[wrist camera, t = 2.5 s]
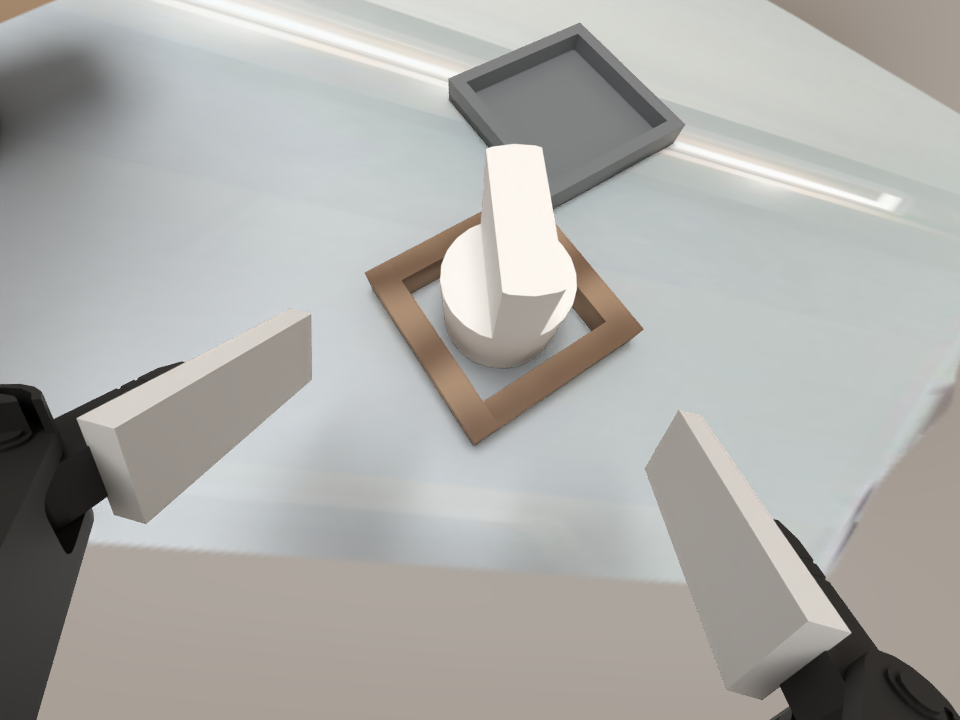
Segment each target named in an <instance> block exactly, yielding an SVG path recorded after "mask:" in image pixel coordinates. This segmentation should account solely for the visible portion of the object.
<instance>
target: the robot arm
mask: <svg viewBox="0 0 960 720" xmlns="http://www.w3.org/2000/svg"><path fill="white" fill-rule="evenodd" d="M311 380H312V348H311V314H310V313H306V312H302V311H298V310H294V309H289V310H287V311H285V312H283V313H281V314H279V315H277V316H275V317H273V318H271V319H269V320H267V321H265V322H263V323H261V324H259V325H257V326H255V327H253V328H252V329H250V330H248V331H246V332H244V333H242V334H240V335H238V336H236V337H234V338H232V339H230V340H228V341H226V342H224V343H222V344H220V345H218V346H216V347H214V348H212V349H211V350H209V351H207V352H205V353H203V354H201V355H199V356H197V357H195V358H193V359H191V360H189V361H187V362H179V363H175V364H171V365H168V366H164V367H160V368H157V369H155V370H153V371H151V372H149V373H147V374H145V375H143V376H141V377H139V378H138V379H137V380H136V381H135V380H133V381H131V382H129V383H127V384H125V385H122V386H121V388H120V389H114V390H112V391H110V392H108V393H106V394H104V395H102V396H100V397H98V398H96V399H94V400H92V401H90V402H88V403H86V404H84V405H82V406H80V407H78V408H76V409H74V410H72V411H69V412H67V413H65V414H63V415H61V416H59V417H57V418H55V419H53V417H52V415H51V412H50V410H49V408H48V405H47V403H46V401H45V398H44V396H43V394H42V392H41V391H40V390H38V389H37V388H36V387H33V386H28V385H22V384H0V720H36V719H37V716H38V712H39V709H40V705H41V702H42V698H43V695H44V691H45V688H46V684H47V681H48V677H49V674H50V670H51V667H52V664H53V660H54V656H55V653H56V650H57V646H58V643H59V639H60V636H61V632H62V629H63V625H64V622H65V618H66V615H67V612H68V608H69V604H70V601H71V597H72V594H73V590H74V587H75V584H76V580H77V577H78V573H79V570H80V566H81V563H82V560H83V556H84V553H85V549H86V546H87V542H88V539H89V535H90V532H91V528H92V525H93V521H94V515H93V510H92V507H94V506H95V505H96V504H98V503H99V502H100V501H102V500H103V499H104V498H106V497H107V498H108V500H109V503H110V505H111V508H112V511H113V513H114V515H116V516H120V517H123V518H127V519H130V520H134V521H137V522H141V523H144V524H147V523H148V522H149V521H150V520H151V519H152V518H154V517H155V516H156V515H157V514H158V513H159V512H160V511H162V510H163V509H164V508H165V507H166V506H167V505H168V504H170V503H171V502H172V501H173V500H174V499H175V498H176V497H178V496H179V495H180V494H181V493H182V492H183V491H184V490H186V489H187V488H188V487H189V486H190V485H191V484H193V483H194V482H195V481H196V480H197V479H198V478H199V477H201V476H202V475H203V474H204V473H205V472H206V471H207V470H209V469H210V468H211V467H212V466H213V465H214V464H215V463H217V462H218V461H219V460H220V459H221V458H222V457H223V456H225V455H226V454H227V453H228V452H229V451H230V450H231V449H233V448H234V447H235V446H236V445H237V444H238V443H240V442H241V441H242V440H243V439H244V438H245V437H246V436H248V435H249V434H250V433H251V432H252V431H253V430H254V429H256V428H257V427H258V426H259V425H260V424H261V423H262V422H264V421H265V420H266V419H267V418H268V417H269V416H270V415H272V414H273V413H274V412H275V411H276V410H277V409H279V408H280V407H281V406H282V405H283V404H284V403H285V402H287V401H288V400H289V399H290V398H291V397H292V396H293V395H295V394H296V393H297V392H298V391H299V390H300V389H301V388H303V387H304V386H305V385H306V384H307V383H308V382H309V381H311ZM645 470H646V473H647V476H648V478H649V481H650V484H651V487H652V489H653V492H654V495H655V497H656V500H657V503H658V506H659V508H660V511H661V514H662V516H663V519H664V522H665V525H666V527H667V530H668V533H669V535H670V538H671V541H672V544H673V546H674V549H675V552H676V555H677V557H678V560H679V563H680V565H681V568H682V571H683V574H684V576H685V579H686V582H687V584H688V587H689V590H690V592H691V595H692V598H693V600H694V603H695V606H696V609H697V612H698V614H699V617H700V620H701V622H702V625H703V628H704V630H705V633H706V636H707V638H708V641H709V644H710V647H711V649H712V652H713V655H714V658H715V660H716V663H717V666H718V669H719V671H720V674H721V677H722V679H723V682H724V685H725V688H726V690H729V691H732V692H736V693H740V694H743V695H747V696H750V697H753V698H757V699H761V700H763V699H764V698H766V697H767V696H768V695H769V694H771V693H772V692H773V691H775V690H776V689H777V688H779V687H781V689H782V692H783V693H784V696H785V698H786V700H787V702H788V704H789V707H788V708H786V709H785V710H783V711H782V712H780V713H779V714H777V715H776V716H774V717H773V718H772V719H770V720H960V717H959V715H958V714H957V713H956V711H955V710H954V708H953V707H952V705H951V704H950V703H949V701H948V700H947V699H946V698H945V697H944V696H943V695H942V694H941V693H940V692H939V691H938V690H937V689H936V688H935V687H934V686H933V685H932V684H931V683H930V682H929V681H928V680H927V679H925V678H924V677H923V676H922V675H921V674H919V673H918V672H917V671H916V670H914V669H913V668H912V667H910V666H909V665H907V664H906V663H904V662H902V661H901V660H899V659H898V658H896V657H894V656H892V655H890V654H887V653H884V652H882V651H879V650H878V649H877V647H876V646H875V644H874V643H873V642H872V640H871V639H870V638H869V636H868V635H867V634H866V632H865V631H864V629H863V628H862V627H861V625H860V624H859V622H858V621H857V620H856V618H855V617H854V616H853V614H852V613H851V612H850V610H849V609H848V607H847V606H846V604H845V603H844V602H843V600H842V599H841V598H840V597H839V595H838V593H837V592H836V591H835V589H834V588H833V586H832V585H831V584H830V582H828V581H826V580H825V578H826V577H825V575H824V574H823V573H822V571H821V570H820V569H819V567H818V566H817V564H814V563H813V559H812V557H811V556H810V555H809V553H808V552H807V551H806V549H805V548H804V546H803V545H802V544H801V542H800V541H799V540H798V539H797V538H796V537H795V536H794V535H793V534H792V533H791V532H790V531H789V530H788V529H787V528H786V527H785V526H784V525H783V524H782V523H781V522H780V521H778V520H775V519H772V517H771V516H770V514H769V513H768V511H767V510H766V509H765V507H764V506H763V504H762V503H761V501H760V500H759V498H758V497H757V496H756V494H755V493H754V491H753V490H752V488H751V487H750V485H749V484H748V483H747V481H746V480H745V478H744V477H743V475H742V474H741V472H740V471H739V470H738V468H737V467H736V465H735V464H734V462H733V461H732V459H731V458H730V457H729V455H728V454H727V452H726V451H725V449H724V448H723V446H722V445H721V443H720V442H719V441H718V439H717V438H716V436H715V435H714V433H713V432H712V430H711V429H710V428H709V426H708V425H707V423H706V422H705V420H704V419H703V417H702V416H701V415H697V414H693V413H689V412H686V411H682V410H678V412H677V414H676V416H675V417H674V419H673V421H672V423H671V424H670V426H669V428H668V429H667V431H666V433H665V435H664V436H663V438H662V440H661V441H660V443H659V445H658V447H657V448H656V450H655V452H654V454H653V455H652V457H651V459H650V460H649V462H648V464H647V466H646V467H645Z"/></svg>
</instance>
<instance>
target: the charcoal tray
mask: <svg viewBox="0 0 960 720" xmlns="http://www.w3.org/2000/svg"><path fill="white" fill-rule="evenodd" d="M449 100H450V101H451V102H452V103H453V105H454V106H455V107H456V108H457V109H458V111H459V112H460V113H461V114H462V115H463V117H464V118H465V119H466V120H467V121H468V123H469V124H470V125H471V126H472V127H473V129H474V130H475V131H476V132H477V133H478V135H479V136H480V137H481V138H482V139H483V141H484V142H485V143H486V144H487V145H488V147H489V148H490V147H494V146H501V145H509V144H522V145H536V146H539V147H542V150H543V156H544V161H545V167H546V173H547V179H548V184H549V190H550V196H551V202H552V208H553V209H554V208H556V207H558V206H559V205H561V204H563V203H565V202H567V201H569V200H570V199H572V198H574V197H576V196H578V195H580V194H581V193H583V192H585V191H587V190H589V189H590V188H592V187H594V186H596V185H598V184H600V183H601V182H603V181H605V180H607V179H609V178H611V177H612V176H614V175H616V174H618V173H620V172H621V171H623V170H625V169H627V168H629V167H631V166H632V165H634V164H636V163H638V162H640V161H641V160H643V159H645V158H647V157H649V156H651V155H652V154H654V153H656V152H658V151H660V150H662V149H663V148H665V147H667V146H669V145H671V144H672V143H674V141H675V140H676V138H677V136H678V135H679V133H680V132H681V130H682V129H683V127H684V126H685V124H684V123H683V122H682V121H681V120H680V119H679V118H678V117H677V116H676V115H675V114H674V113H673V112H672V111H671V110H670V109H669V108H668V107H667V106H666V105H665V104H664V103H663V102H661V101H660V100H659V99H658V98H657V97H656V96H655V95H654V94H653V93H652V92H651V91H650V90H649V89H648V88H647V87H646V86H645V85H644V84H643V83H642V82H641V81H640V80H639V79H638V78H637V77H636V76H635V75H634V74H632V73H631V72H630V71H629V70H628V69H627V68H626V67H625V66H624V65H623V64H622V63H621V62H620V61H619V60H618V59H617V58H616V57H615V56H614V55H613V54H612V53H611V52H610V51H609V50H608V49H607V48H606V47H605V46H603V45H602V44H601V43H600V42H599V41H598V40H597V39H596V38H595V37H594V36H593V35H592V34H591V33H590V32H589V31H588V30H587V29H586V28H585V27H584V26H583V25H582V24H581V23H578V24H576V25H573V26H571V27H569V28H566V29H564V30H562V31H559V32H557V33H555V34H552V35H550V36H548V37H545V38H543V39H541V40H538V41H536V42H533V43H531V44H529V45H526V46H524V47H522V48H519V49H517V50H515V51H512V52H510V53H508V54H505V55H503V56H501V57H498V58H496V59H494V60H491V61H489V62H486V63H484V64H482V65H479V66H477V67H475V68H472V69H470V70H468V71H465V72H463V73H461V74H458V75H456V76H454V77H451V78H449Z"/></svg>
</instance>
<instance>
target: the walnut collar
mask: <svg viewBox="0 0 960 720" xmlns="http://www.w3.org/2000/svg"><path fill="white" fill-rule="evenodd" d="M479 224H481V212H480V213H478V214H476V215H474V216H472V217H470V218H468V219H466V220H464V221H463V222H461V223H459V224H457V225H455V226H453V227H451V228H449V229H447V230H445V231H443V232H442V233H440V234H438V235H436V236H434V237H432V238H430V239H428V240H426V241H424V242H423V243H421V244H419V245H417V246H415V247H413V248H411V249H409V250H407V251H405V252H403V253H402V254H400V255H398V256H396V257H394V258H392V259H390V260H388V261H386V262H384V263H382V264H381V265H379V266H377V267H375V268H373V269H371V270H369V271H367V272H365V274H366V276H367V279H368V281H369V283H370V285H371V287H372V289H373V290H374V292H375V293H376V295H377V297H378V298H379V300H380V301H381V303H382V304H383V306H384V307H385V309H386V311H387V312H388V314H389V315H390V317H391V318H392V320H393V321H394V323H395V325H396V326H397V328H398V329H399V331H400V332H401V334H402V335H403V337H404V339H405V340H406V342H407V343H408V345H409V346H410V348H411V349H412V351H413V353H414V354H415V356H416V357H417V359H418V360H419V362H420V363H421V365H422V367H423V368H424V370H425V371H426V373H427V374H428V376H429V377H430V379H431V381H432V382H433V384H434V385H435V387H436V388H437V390H438V391H439V393H440V395H441V396H442V398H443V399H444V401H445V402H446V404H447V405H448V407H449V409H450V410H451V412H452V413H453V415H454V416H455V418H456V419H457V421H458V423H459V424H460V426H461V427H462V429H463V430H464V432H465V433H466V435H467V437H468V438H469V440H470V441H471V443H472V444H473V446H475V445H476V444H478V443H479V442H481V441H482V440H484V439H485V438H487V437H488V436H490V435H491V434H492V433H494V432H495V431H497V430H498V429H500V428H501V427H503V426H504V425H506V424H507V423H509V422H510V421H512V420H513V419H515V418H516V417H518V416H519V415H521V414H522V413H523V412H525V411H526V410H528V409H529V408H531V407H532V406H534V405H535V404H537V403H538V402H540V401H541V400H543V399H544V398H546V397H547V396H549V395H550V394H551V393H553V392H554V391H556V390H557V389H559V388H560V387H562V386H563V385H565V384H566V383H568V382H569V381H571V380H572V379H574V378H575V377H577V376H578V375H580V374H581V373H582V372H584V371H585V370H587V369H588V368H590V367H591V366H593V365H594V364H596V363H597V362H599V361H600V360H602V359H603V358H605V357H606V356H608V355H609V354H611V353H612V352H613V351H615V350H616V349H618V348H619V347H621V346H622V345H624V344H625V343H627V342H628V341H630V340H631V339H632V338H633V337H635V336H636V335H637V334H638V333H640V332H641V331H642V330H644V329H643V328H642V327H641V325H640V324H639V323H638V322H637V321H636V319H635V318H634V317H633V316H632V315H631V313H630V312H629V311H628V310H627V309H626V307H625V306H624V305H623V304H622V303H621V301H620V300H619V299H618V298H617V297H616V296H615V294H614V293H613V292H612V291H611V290H610V288H609V287H608V286H607V285H606V284H605V282H604V281H603V280H602V279H601V278H600V276H599V275H598V274H597V273H596V272H595V270H594V269H593V268H592V267H591V266H590V264H589V263H588V262H587V261H586V260H585V258H584V257H583V256H582V255H581V254H580V252H579V251H578V250H577V249H576V248H575V246H574V245H573V244H572V243H571V242H570V240H569V239H568V238H567V237H566V236H565V234H564V233H563V232H562V231H561V230H560V229H559V227H558V226H557V225H556V224H555V225H556V231H557V236H558V241H559V242H560V243H561V244H562V245H563V247H564V248H565V250H566V251H567V253H568V254H569V256H570V257H571V259H572V262H573V265H574V268H575V271H576V280H577V291H576V294H575V298H574V302H573V305H572V306H573V308H574V309H575V310H576V311H577V313H578V314H579V315H580V316H581V318H582V319H583V320H584V322H585V323H586V324H587V325H588V327H589V328H590V329H591V330H592V331H591V332H590V333H588V334H587V335H585V336H583V337H582V338H580V339H579V340H577V341H576V342H574V343H573V344H571V345H570V346H568V347H567V348H565V349H564V350H562V351H560V352H559V353H557V354H556V355H554V356H553V357H551V358H550V359H548V360H547V361H545V362H544V363H542V364H541V365H539V366H537V367H536V368H534V369H533V370H531V371H530V372H528V373H527V374H525V375H524V376H522V377H521V378H519V379H518V380H516V381H515V382H513V383H511V384H510V385H508V386H507V387H505V388H504V389H502V390H501V391H499V392H498V393H496V394H495V395H493V396H492V397H490V398H488V399H487V400H485V401H484V402H483V401H482V400H481V398H480V397H479V395H478V394H477V392H476V391H475V389H474V388H473V386H472V385H471V383H470V382H469V380H468V379H467V377H466V376H465V374H464V373H463V371H462V370H461V368H460V367H459V365H458V364H457V362H456V361H455V359H454V358H453V356H452V355H451V353H450V352H449V350H448V349H447V347H446V346H445V344H444V343H443V341H442V340H441V338H440V337H439V335H438V334H437V332H436V331H435V329H434V328H433V326H432V325H431V323H430V322H429V320H428V319H427V318H426V316H425V315H424V313H423V312H422V310H421V309H420V307H419V306H418V304H417V303H416V301H415V300H414V298H413V297H412V295H411V293H412V292H414V291H416V290H418V289H420V288H422V287H423V286H425V285H427V284H429V283H431V282H432V281H434V280H436V279H438V278H440V275H441V264H442V262H443V260H444V257H445V255H446V252H447V250H448V249H449V247H450V246H451V245H452V244H453V242H454V241H455V240H456V238H457V237H459V236H460V235H461V234H463V233H464V232H465V231H467V230H468V229H470V228H472V227H474V226H476V225H479Z"/></svg>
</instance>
